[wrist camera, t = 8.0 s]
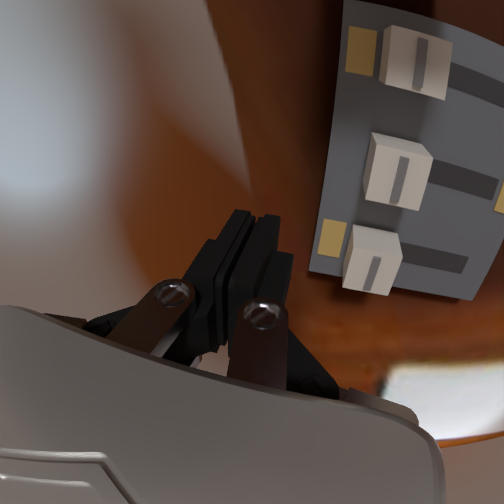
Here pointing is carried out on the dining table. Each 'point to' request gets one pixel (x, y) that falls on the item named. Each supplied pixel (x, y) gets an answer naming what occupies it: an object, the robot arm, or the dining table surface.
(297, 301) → the dining table surface
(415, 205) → the switch
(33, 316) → the robot arm
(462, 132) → the switch unit
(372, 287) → the switch
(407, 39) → the switch
